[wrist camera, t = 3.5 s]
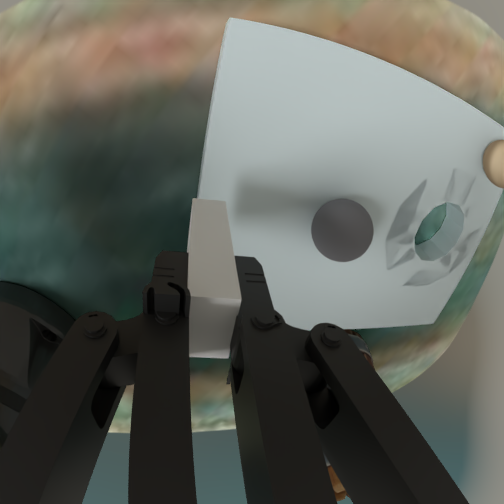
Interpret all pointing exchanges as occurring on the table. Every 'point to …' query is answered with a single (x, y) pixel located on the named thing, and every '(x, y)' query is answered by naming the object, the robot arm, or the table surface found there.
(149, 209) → the table surface
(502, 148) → the cork ball
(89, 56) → the table surface
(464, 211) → the white slab
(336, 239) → the ball
